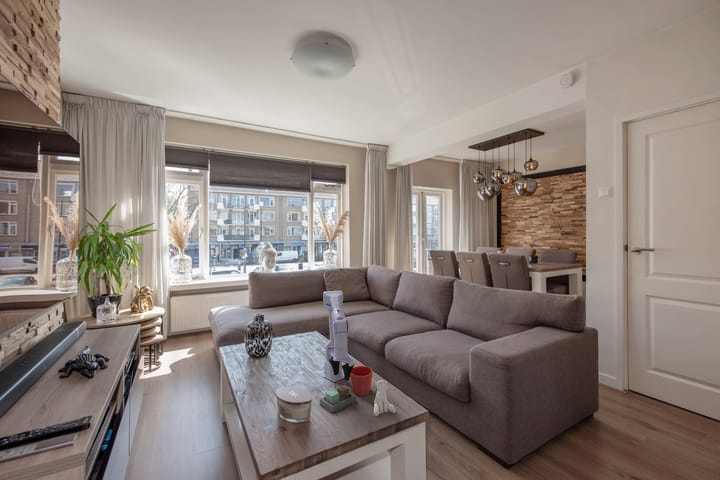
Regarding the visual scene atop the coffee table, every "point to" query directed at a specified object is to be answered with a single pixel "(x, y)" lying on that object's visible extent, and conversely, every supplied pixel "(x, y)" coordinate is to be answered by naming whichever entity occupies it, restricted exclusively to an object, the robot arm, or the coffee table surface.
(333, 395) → the teal block
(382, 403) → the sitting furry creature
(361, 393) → the flower pot
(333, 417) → the coffee table surface
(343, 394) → the walnut block
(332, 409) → the tray
